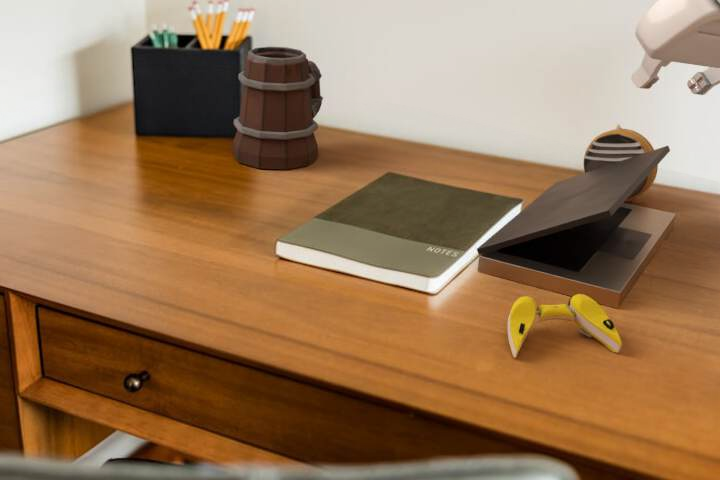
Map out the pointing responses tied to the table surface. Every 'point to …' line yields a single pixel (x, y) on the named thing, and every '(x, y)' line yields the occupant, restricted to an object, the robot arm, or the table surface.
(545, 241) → the laptop
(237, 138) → the mug
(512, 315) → the game controller
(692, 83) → the robot arm
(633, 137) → the striped round disc
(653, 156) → the laptop screen
